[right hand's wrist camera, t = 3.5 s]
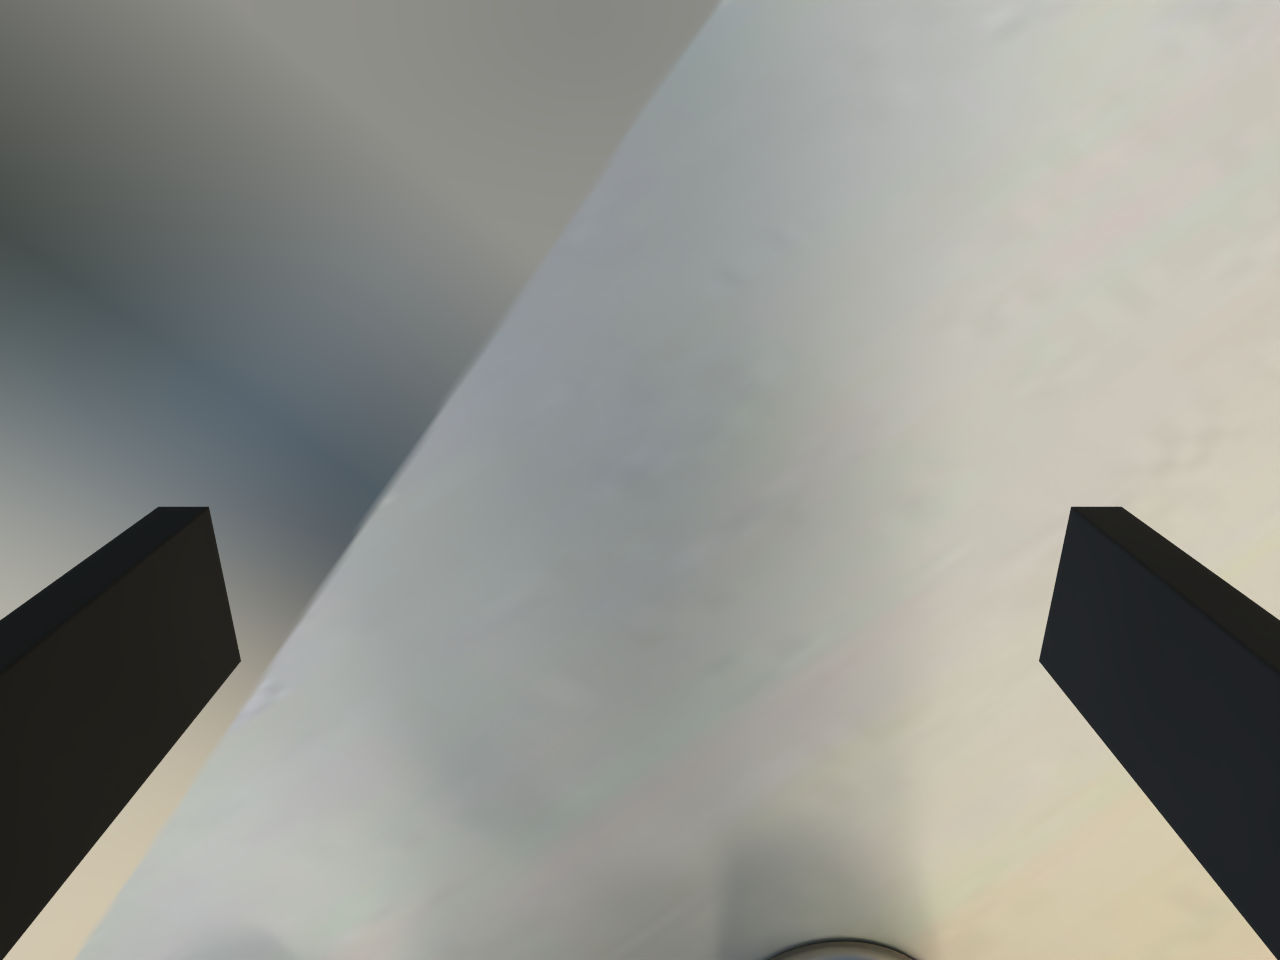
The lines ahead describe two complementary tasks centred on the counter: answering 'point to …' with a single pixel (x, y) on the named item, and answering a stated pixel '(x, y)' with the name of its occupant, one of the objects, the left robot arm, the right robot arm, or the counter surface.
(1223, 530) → the counter surface
